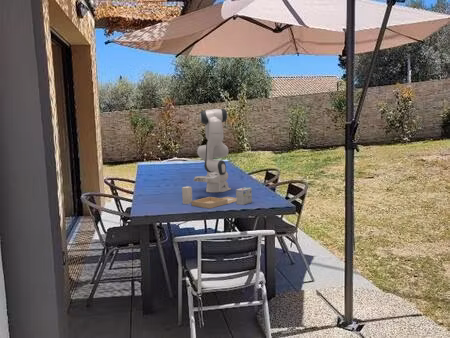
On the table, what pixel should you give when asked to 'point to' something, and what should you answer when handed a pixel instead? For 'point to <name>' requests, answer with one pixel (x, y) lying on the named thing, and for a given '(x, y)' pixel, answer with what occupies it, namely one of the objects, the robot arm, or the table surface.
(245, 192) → the light bulb box
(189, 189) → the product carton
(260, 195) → the table surface
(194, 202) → the tray
